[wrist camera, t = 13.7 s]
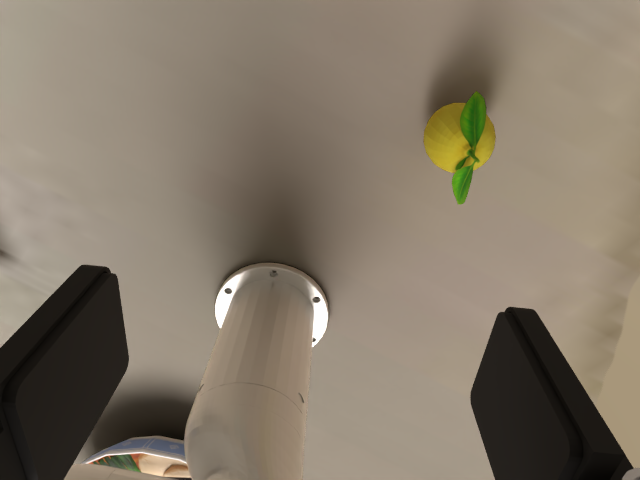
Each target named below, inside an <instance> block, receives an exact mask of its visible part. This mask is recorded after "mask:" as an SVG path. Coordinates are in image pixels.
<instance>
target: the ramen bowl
mask: <svg viewBox="0 0 640 480" xmlns="http://www.w3.org/2000/svg"><path fill="white" fill-rule="evenodd" d="M81 464H96V465H104V466H110V467H115V468H122V469H127V470H132V471H137V472H142V473H147V474H152V475H157V476H162V477H167V478H172V479H177V480H192V478H191V476H190V473H189V470H188V466H187V462H186V457H185V450H184V441H183V440H178V439H173V438H168V437H163V436H147V437H134V438H130V439H128V440H125V441H122V442H120V443H118V444H115V445H113V446H111V447H108V448H106V449H103V450H101V451H99V452H98V453H96V454H94V455H92V456H90V457H89V458H87V459H86V460H85V461H84V462H82V463H81Z"/></svg>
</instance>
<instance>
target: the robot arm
mask: <svg viewBox="0 0 640 480" xmlns="http://www.w3.org/2000/svg"><path fill="white" fill-rule="evenodd" d="M273 270H274V271H273ZM215 316H216V320H217V323H218V325H219V327H220V332H219V334H218V337H217V340H216V343H215V345H214V348H213V351H212V354H211V357H210V359H209V362H208V365H207V368H206V370H205V373H204V376H203V379H202V381H201V384H200V387H199V390H198V392H197V395H196V398H195V401H194V403H193V406H192V409H191V412H190V415H189V417H188V420H187V424H186V428H185V436H184V450H185V457H186V462H187V466H188V470H189V473H190V476H191V478H192V480H302V478H303V456H304V442H305V430H306V417H307V405H308V392H309V380H310V367H311V355H312V347H313V346H314V345H316V344H317V343H318V341H319V340H320V339H321V338H322V336H323V335H324V333H325V331H326V328H327V324H328V317H329V310H328V303H327V300H326V297H325V294H324V293H323V291H322V289H321V288H320V286H319V285H318V284H317V283H316V282H315V281H314V280H313V279H312V278H311V277H309V276H308V275H307V274H305V273H304V272H302V271H300V270H298V269H296V268H294V267H291V266H287V265H284V264H278V263H258V264H253V265H249V266H247V267H244V268H241V269H239V270H238V271H236V272H235V273H233V274H232V275H231V276H230V277H229V278H228V279H226V280H225V282H224V283H223V285H222V286H221V288H220V290H219V293H218V295H217V298H216V302H215ZM128 361H129V355H128V348H127V341H126V334H125V327H124V320H123V313H122V306H121V299H120V292H119V285H118V279H117V276H116V274H113V273H111V271H110V270H109V268H107V267H102V266H92V265H81V266H80V267H79V268H78V269H77V270H76V271H75V272H74V273H73V274H72V275H71V276H70V277H69V278H68V279H67V280H66V281H65V282H64V283H63V284H62V285H61V286H60V287H59V288H58V289H57V290H56V291H55V292H54V293H53V294H52V295H51V296H50V297H49V298H48V299H47V300H46V301H45V303H44V304H43V305H42V306H41V307H40V308H39V309H38V310H37V311H36V312H35V313H34V314H33V315H32V316H31V317H30V318H29V319H28V320H27V321H26V322H25V323H24V324H23V325H22V326H21V327H20V328H19V329H18V330H17V331H16V332H15V333H14V334H13V335H12V336H11V338H10V339H9V340H8V341H7V342H6V343H5V344H4V345H3V346H2V347H1V348H0V480H177V479H172V478H167V477H162V476H157V475H152V474H147V473H142V472H137V471H132V470H127V469H122V468H115V467H110V466H104V465H96V464H74V465H73V463H74V461H75V459H76V458H77V456H78V454H79V452H80V451H81V449H82V447H83V445H84V444H85V442H86V440H87V438H88V437H89V435H90V433H91V431H92V430H93V428H94V426H95V424H96V423H97V421H98V419H99V417H100V416H101V414H102V412H103V411H104V409H105V407H106V405H107V404H108V402H109V400H110V398H111V397H112V395H113V393H114V391H115V390H116V388H117V386H118V384H119V383H120V381H121V379H122V377H123V376H124V374H125V372H126V370H127V367H128ZM471 406H472V409H473V412H474V415H475V418H476V422H477V425H478V428H479V431H480V434H481V437H482V440H483V443H484V446H485V450H486V453H487V456H488V459H489V462H490V465H491V468H492V471H493V474H494V477H495V480H640V468H633V467H632V465H631V463H630V462H629V460H628V459H627V457H626V455H625V453H624V452H623V450H622V449H621V447H620V445H619V444H618V442H617V441H616V439H615V437H614V436H613V434H612V433H611V431H610V429H609V428H608V426H607V425H606V423H605V421H604V420H603V418H602V417H601V415H600V413H599V412H598V410H597V409H596V407H595V405H594V404H593V402H592V401H591V399H590V397H589V396H588V394H587V393H586V391H585V389H584V388H583V386H582V385H581V383H580V381H579V380H578V378H577V377H576V375H575V373H574V372H573V370H572V369H571V367H570V365H569V364H568V362H567V361H566V359H565V357H564V356H563V354H562V353H561V351H560V349H559V348H558V346H557V345H556V343H555V341H554V340H553V338H552V337H551V335H550V333H549V332H548V330H547V329H546V327H545V325H544V324H543V322H542V321H541V319H540V317H539V316H538V314H537V313H536V311H535V310H533V309H526V308H516V307H508V308H507V309H506V310H505V312H500V313H499V314H498V315H497V318H496V321H495V323H494V326H493V329H492V332H491V335H490V338H489V341H488V344H487V347H486V349H485V352H484V355H483V358H482V361H481V364H480V367H479V370H478V373H477V375H476V378H475V381H474V384H473V387H472V390H471Z"/></svg>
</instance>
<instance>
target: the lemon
mask: <svg viewBox="0 0 640 480" xmlns="http://www.w3.org/2000/svg"><path fill="white" fill-rule="evenodd" d="M495 138H496V136H495V130H494V126H493V124H492V122H491V120H490V119H489V117H488V116H487V114H486V105H485V100H484V98H483V96H482V95H481V94H479V93H478V92H477V91H476V92H475V93H474V94H473V95H472V96H471V97H470V99H469V100H468V101H467V103H452V104H449V105H446V106H443V107H442V108H440V109H439V110H437V111H436V112H435V113H434V114H433V115H432V117H431V118H430V119H429V121H428V123H427V126H426V128H425V131H424V145H425V149H426V153H427V154H428V156H429V157H430V159H431V160H432V162H433V163H434V164H435V165H437V166H438V167H440V168H441V169H443V170H445V171H449V172H452V173H455V174H454V176H453V179H452V186H453V192H454V195H455V197H456V200H457V203H458V204H463V203H464V202H465V199H466V197H467V194H468V190H469V187H470V183H471V179H472V174H473V171H474V170H476V169H477V168H479V167H480V166H482V165H483V164H484V163H485V162H486V161H487V160H488V159H489V158H490V156H491V154H492V152H493V149H494V145H495Z"/></svg>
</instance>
